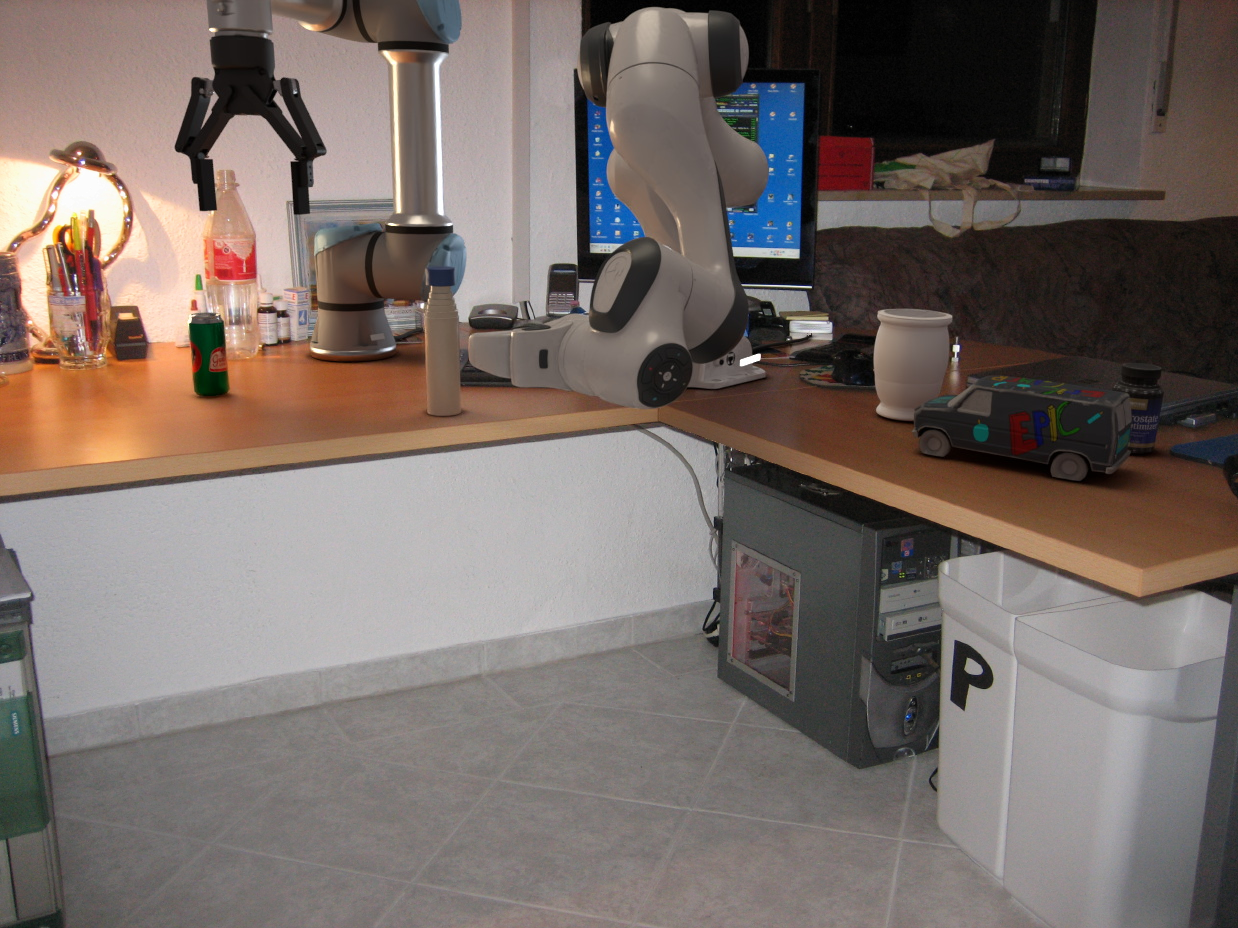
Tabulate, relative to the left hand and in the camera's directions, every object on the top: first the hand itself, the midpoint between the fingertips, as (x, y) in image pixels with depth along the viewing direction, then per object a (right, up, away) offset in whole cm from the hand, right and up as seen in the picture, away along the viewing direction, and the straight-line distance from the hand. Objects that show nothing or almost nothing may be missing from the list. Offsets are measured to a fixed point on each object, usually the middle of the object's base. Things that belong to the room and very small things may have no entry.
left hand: (254, 213), depth 138 cm
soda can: (-14, -22, +23) cm, 35 cm away
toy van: (+97, -32, -3) cm, 102 cm away
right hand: (+35, -17, -5) cm, 39 cm away
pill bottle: (+114, -31, +3) cm, 118 cm away
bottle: (+22, -25, +16) cm, 37 cm away
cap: (+22, -6, +10) cm, 25 cm away
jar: (+89, -26, +18) cm, 94 cm away
